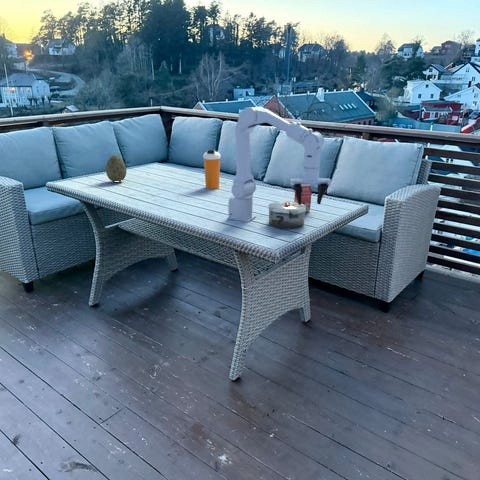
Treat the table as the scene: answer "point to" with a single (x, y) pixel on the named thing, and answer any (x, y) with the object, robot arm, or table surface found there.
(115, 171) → the decorative egg
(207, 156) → the shaker bottle
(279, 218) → the cooker pot
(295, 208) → the lid
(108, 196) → the table surface
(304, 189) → the soda can
